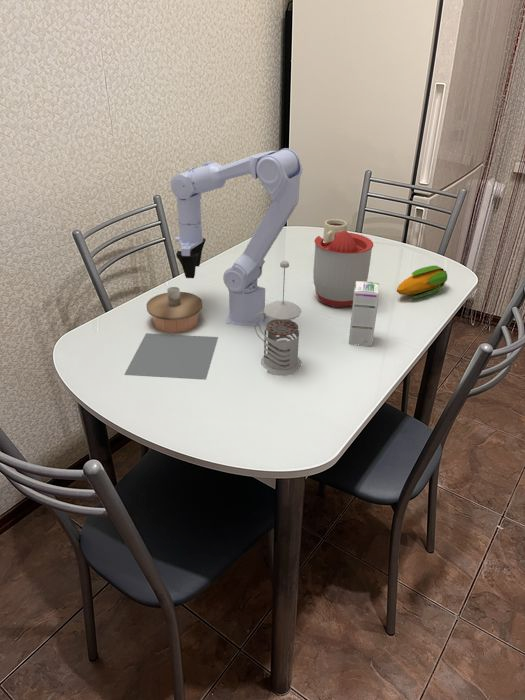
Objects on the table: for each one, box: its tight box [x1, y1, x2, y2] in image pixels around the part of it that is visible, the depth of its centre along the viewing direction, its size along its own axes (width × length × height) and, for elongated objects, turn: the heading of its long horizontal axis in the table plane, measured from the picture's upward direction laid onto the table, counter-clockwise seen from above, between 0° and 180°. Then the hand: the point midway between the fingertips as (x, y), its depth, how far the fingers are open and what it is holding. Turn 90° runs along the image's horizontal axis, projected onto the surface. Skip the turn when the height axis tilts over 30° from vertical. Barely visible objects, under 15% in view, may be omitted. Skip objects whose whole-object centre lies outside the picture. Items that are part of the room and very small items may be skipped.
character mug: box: [322, 218, 348, 243], centre depth 167 cm, size 11×7×13 cm, turn 148°
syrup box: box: [348, 281, 380, 347], centre depth 124 cm, size 6×6×14 cm
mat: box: [124, 332, 219, 381], centre depth 120 cm, size 18×18×1 cm
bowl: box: [152, 313, 199, 333], centre depth 133 cm, size 11×11×4 cm
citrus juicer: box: [312, 230, 374, 308], centre depth 143 cm, size 16×17×20 cm
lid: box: [146, 286, 203, 320], centre depth 131 cm, size 14×14×5 cm
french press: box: [253, 259, 302, 376], centre depth 113 cm, size 10×12×25 cm
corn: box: [396, 265, 448, 300], centre depth 149 cm, size 7×8×20 cm
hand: (192, 271), depth 137 cm, fingers open, 7 cm apart
